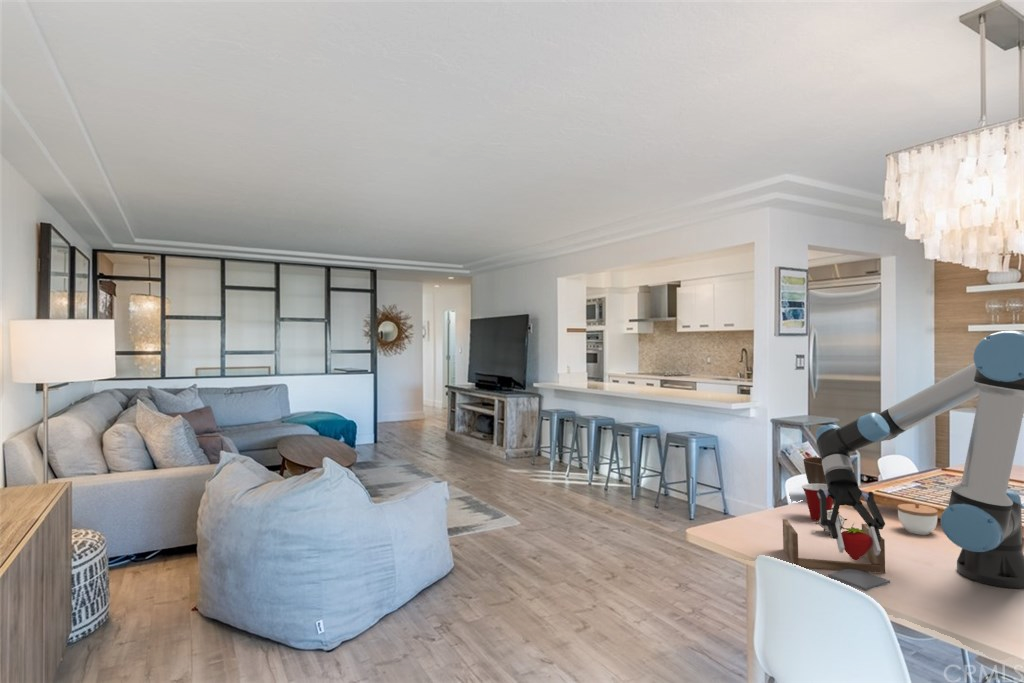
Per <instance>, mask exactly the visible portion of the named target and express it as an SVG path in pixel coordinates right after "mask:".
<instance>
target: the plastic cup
mask: <svg viewBox="0 0 1024 683" xmlns="http://www.w3.org/2000/svg"><path fill="white" fill-rule="evenodd" d="M801 488H802V489H803V492H804V494H805V499H806V503H807V507H808V511H809V516H810V519H811V520H812V521H817V522H818V521H819V518H820V516H819V514H820V501H819V499H818V497H817V493H818V490H819V489H822V490H828V487H827V484H809V483H807V484H806V483H805V484H802V485H801ZM832 503H833V499H832V498H831V497H830V496H829V495H827V498H826V504H827V510H832V508H833V504H834V503H833V504H832Z"/></svg>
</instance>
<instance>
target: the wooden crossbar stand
mask: <svg viewBox="0 0 1024 683" xmlns="http://www.w3.org/2000/svg"><path fill="white" fill-rule="evenodd" d="M869 529H870V528H869V526H868V525H867V524H866V523H861V530H866V531H863V532H865V534H867V535H869V532H868V531H869ZM798 535H799V534H798V533H797V531H796V530H795V529H794V527H793V526H792V524H791V523H790V521H789V520H788V519H785V518H784V519H782V542H783V544H782V546H783V547H782V549H783V551H784V553H785V554H786V557H787V558H788V559H789V561H790V562H791V564H792V563H794V564H796V565H799V566H802V567H801V568H809V569H821V570H823V569H824V570H834V571H836V570H837V571H841V570H844V569H848V568H850V569H859V570H861V571H864V572H867V573H872V574H873V573H874V574H875V573H876V574H877V573H878V574H886V545H885V538H884V537H882V536H881V540H880V542H879V546H880V549H881V551H880V553H879V555H875V553H874V550H873V546H872V545H871V547H870V549H869V550H868V551H867V552H866V553H865V554H864V555H863V556H862V557H864V558H865V559H866V560H867V562H860V561H843V560H831V559H817V558H816V559H815V558H806V557H799V536H798Z"/></svg>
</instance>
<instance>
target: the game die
mask: <svg viewBox="0 0 1024 683" xmlns="http://www.w3.org/2000/svg"><path fill="white" fill-rule="evenodd" d="M832 511H833V507H832V510H827V519H828V520H830V518H831V515H832ZM819 516H820V514H819ZM845 521H848V518H844V517H842V515H840V511H838V515H837V519H836V523H835V525H836V524H839V526H840V530H841V531H842V530H843V529H842V528H845V527H844V524H845ZM814 525H819V526H820V527H821V528H822V530H823V531H824V532H826V533H828V536H831V532H830V529H829V528H828V526H826V525H825V526H823V525H821V518H819V521H817V522H815V523H814Z"/></svg>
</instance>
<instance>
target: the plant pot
mask: <svg viewBox="0 0 1024 683" xmlns="http://www.w3.org/2000/svg"><path fill="white" fill-rule="evenodd" d="M802 461H803V465H804V472H805V476H806V479H807V480H806V481H807V484H827V483H826V479H825V474H824V470H823V466H822V461H821V457H820V456H818V457H817V456H816V457H814V456H813V457H805V458H803V460H802ZM834 503H835V501H834V500H833V503H832V505H834Z"/></svg>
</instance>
